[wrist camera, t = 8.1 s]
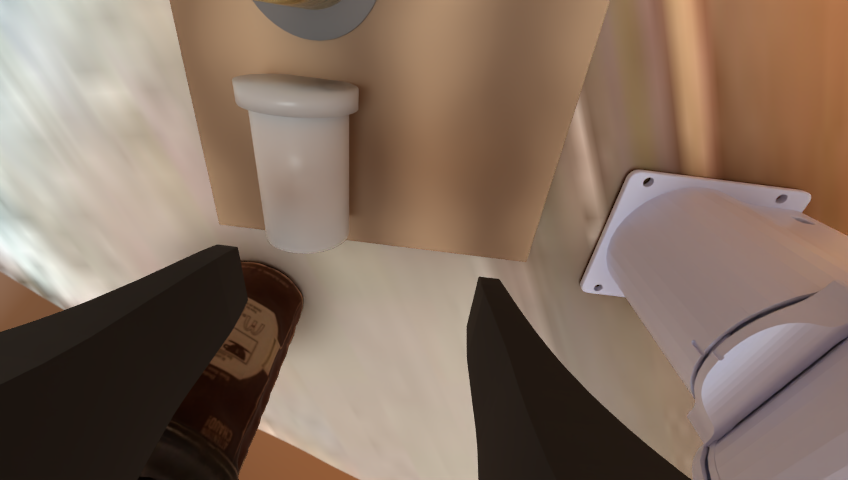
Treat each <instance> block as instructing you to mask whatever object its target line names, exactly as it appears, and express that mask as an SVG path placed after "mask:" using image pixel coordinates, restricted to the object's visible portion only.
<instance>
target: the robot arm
mask: <svg viewBox="0 0 848 480" xmlns="http://www.w3.org/2000/svg"><path fill="white" fill-rule="evenodd" d="M646 178H650V180H649V182H648V183H646V184H643V181H644V180H645V179H646ZM780 195H781V196H780ZM779 196H780V197H779ZM778 197H779V198H778ZM777 198H778V199H777ZM776 199H777V200H776ZM810 200H811V195H810V193H808V192H805V191H803V190H798V189H790V188H782V187H774V186H766V185H758V184H750V183H742V182H735V181H727V180H719V179H711V178H703V177H695V176H687V175H679V174H671V173H663V172H655V171H647V170H634V171H632V172H631V173H629V174H628V176H627V177H626V179H625V182H624V184H623V186H622V188H621V191H620V193H619V195H618V198H617V200H616V202H615V205H614V207H613V209H612V211H611V214H610V216H609V218H608V221H607V223H606V225H605V227H604V230H603V232H602V234H601V237H600V239H599V241H598V243H597V246H596V248H595V250H594V253H593V255H592V257H591V259H590V262H589V264H588V266H587V269H586V271H585V273H584V276H583V278H582V280H581V282H580V286H581V288H582V290H583V291H584V292H587V293H594V294H602V295H611V296H619V297H626V299H627V300H628V302H629V303H630V305H631V306H632V308H633V309H634V310H635V312H636V313H637V315H638V316H639V318H640V319H641V321H642V322H643V324H644V325H645V327H646V328H647V330H648V331H649V333H650V334H651V336H652V337H653V338H654V340H655V341H656V343H657V344H658V346H659V347H660V349H661V350H662V352H663V353H664V355H665V356H666V358H667V359H668V361H669V362H670V364H671V365H672V367H673V368H674V369H675V371H676V372H677V374H678V375H679V377H680V378H681V380H682V381H683V383H684V384H685V386H686V387H687V389H688V390H689V392H690V393H691V395H692V396H693V397H694V399H695V405H694V407H693V409H692V410H691V411H690V412H689V413H688V415H687V417H688V419H689V421H690V422H691V424H692V425H693V427H694V429H695V430H696V432H697V433H698V435H699V437H700V438H701V440H702V441H703V443H704V444H703V445H702V446H701V447H700V448H698V450H697V452H696V454H695V456H694V458H693V464H692V475H693V480H848V236H847V235H845V234H843V233H841V232H839V231H837V230H835V229H833V228H831V227H829V226H827V225H825V224H823V223H821V222H819V221H817V220H815V219H813V218H811V217H809V216H807V215H805V214H803V213H802V211H803V210H804V209H805V207H806V206H807V205H808V203H809V202H810ZM596 285H599V286H598V287H595V286H596ZM247 301H248V296H247V291H246V286H245V281H244V276H243V271H242V266H241V261H240V256H239V251H238V247H232V246H224V245H215V246H212V247H210V248H207V249H205V250H202V251H200V252H198V253H196V254H193V255H191V256H189V257H187V258H185V259H182V260H180V261H178V262H176V263H174V264H172V265H169V266H167V267H165V268H163V269H161V270H159V271H156V272H154V273H152V274H150V275H148V276H146V277H143V278H141V279H139V280H137V281H134V282H132V283H130V284H127V285H125V286H123V287H120V288H118V289H116V290H113V291H111V292H109V293H106V294H104V295H101V296H99V297H97V298H94V299H92V300H90V301H87V302H85V303H82V304H80V305H77V306H74V307H72V308H69V309H66V310H64V311H62V312H58V313H55V314H53V315H50V316H47V317H44V318H41V319H39V320H36V321H33V322H30V323H27V324H24V325H21V326H18V327H15V328H12V329H8V330H5V331H2V332H0V480H138V478H139V476H140V474H141V472H142V470H143V469H144V467H145V465H146V463H147V461H148V459H149V457H150V456H151V454H152V452H153V450H154V448H155V447H156V445H157V443H158V441H159V440H160V438H161V436H162V434H163V433H164V431H165V429H166V427H167V426H168V424H169V422H170V421H171V419H172V417H173V415H174V414H175V412H176V411H177V409H178V407H179V406H180V404H181V403H182V401H183V400H184V398H185V397H186V395H187V394H188V393H189V391H190V390H191V388H192V387H193V386H194V384H195V383H196V381H197V380H198V379H199V377H200V376H201V374H202V373H203V372H204V370H205V369H206V367H207V366H208V365H209V363H210V362H211V360H212V359H213V358H214V356H215V355H216V353H217V352H218V350H219V349H220V348H221V346H222V345H223V343H224V342H225V340H226V339H227V338H228V336H229V335H230V333H231V332H232V330H233V329H234V327H235V325H236V323H237V321H238V319H239V318H240V316H241V314H242V312H243V310H244V308H245V306H246V304H247ZM467 363H468V371H469V379H470V387H471V395H472V403H473V411H474V419H475V427H476V437H477V449H478V479H479V480H691V479H690V478H688V477H687V476H686V475H684V474H683V473H682V472H680V471H679V470H678V469H677V468H675V467H674V466H673V465H672V464H670V463H669V462H668V461H667V460H665V459H664V458H663V457H662V456H660V455H659V454H658V453H657V452H656V451H654V450H653V449H652V448H651V447H649V446H648V445H647V444H646V443H645V442H643V441H642V440H641V439H640V438H639V437H637V436H636V435H635V434H634V433H633V432H632V431H630V430H629V429H628V428H627V427H626V426H625V425H624V424H623V423H621V422H620V421H619V420H618V419H617V418H616V417H615V416H614V415H613V414H612V413H610V412H609V411H608V410H607V409H606V408H605V407H604V406H603V405H602V404H601V403H600V402H599V401H598V400H596V399H595V398H594V397H593V396H592V395H591V394H590V393H589V392H588V391H587V390H586V389H585V388H584V387H583V386H582V384H581V383H580V382H579V381H578V380H577V379H576V378H575V377H574V376H573V375H572V374H571V373H570V372H569V371H568V370H567V369H566V368H565V367H564V365H563V364H562V363H561V362H560V361H559V360H558V359H557V357H556V356H555V355H554V354H553V353H552V351H551V350H550V349H549V348H548V347H547V345H546V344H545V343H544V342H543V340H542V339H541V338H540V337H539V335H538V334H537V333H536V331H535V330H534V329H533V327H532V326H531V325H530V323H529V322H528V320H527V319H526V318H525V316H524V315H523V313H522V312H521V311H520V309H519V308H518V306H517V305H516V303H515V302H514V300H513V299H512V297H511V296H510V294H509V293H508V291H507V290H506V288H505V287H504V285H503V284H502V283H501V281H500V280H499V279H493V278H485V277H479V278H478V282H477V286H476V290H475V294H474V299H473V303H472V307H471V311H470V315H469V319H468V323H467Z"/></svg>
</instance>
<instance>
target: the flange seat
mask: <svg viewBox="0 0 848 480" xmlns="http://www.w3.org/2000/svg"><path fill="white" fill-rule="evenodd" d="M252 1H253V2H254V3H255V4H256V6H257V7H258V8H259V10H260V11H261V12H262V13H263V14H264V15H265V16H266V17H267V18H268V19H269V20H271V21H272V22H273V23H274V24H275V25H277V26H278V27H280V28H281V29H283V30H284V31H286V32H288V33H290V34H292V35H294V36H297V37H300V38H304V39H308V40H319V41H321V40H331V39H335V38H338V37H341V36H343V35H345V34H348V33H349V32H351V31H352V30H354V29H355V28H356V27H357V26H358V25H360V24H361V23H362V22H363V21H364V19H365V18H366V17H367V16H368V14H369V13H370V11H371V10H372V8H373V6H374V4H375V2H376V0H341V1H339V2H338V3H337V4H335V5H333V6H331V7H328V8H325V9H320V10H309V9H303V8H297V7H291V6H285V5H279V4H273V3H267V2H261V1H255V0H252Z"/></svg>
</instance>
